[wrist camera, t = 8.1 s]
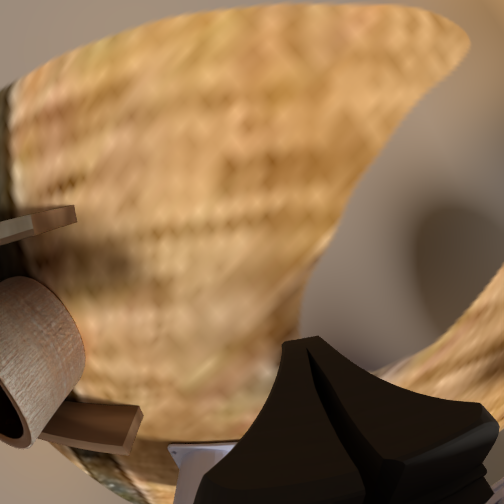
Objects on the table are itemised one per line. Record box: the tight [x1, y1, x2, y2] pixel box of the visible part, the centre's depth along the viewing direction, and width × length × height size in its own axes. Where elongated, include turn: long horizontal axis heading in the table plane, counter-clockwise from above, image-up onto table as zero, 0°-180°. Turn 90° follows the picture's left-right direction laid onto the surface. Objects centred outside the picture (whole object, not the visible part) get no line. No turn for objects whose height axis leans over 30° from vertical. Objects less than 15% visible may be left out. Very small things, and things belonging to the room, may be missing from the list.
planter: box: [0, 276, 85, 449], centre depth 15 cm, size 11×11×10 cm
